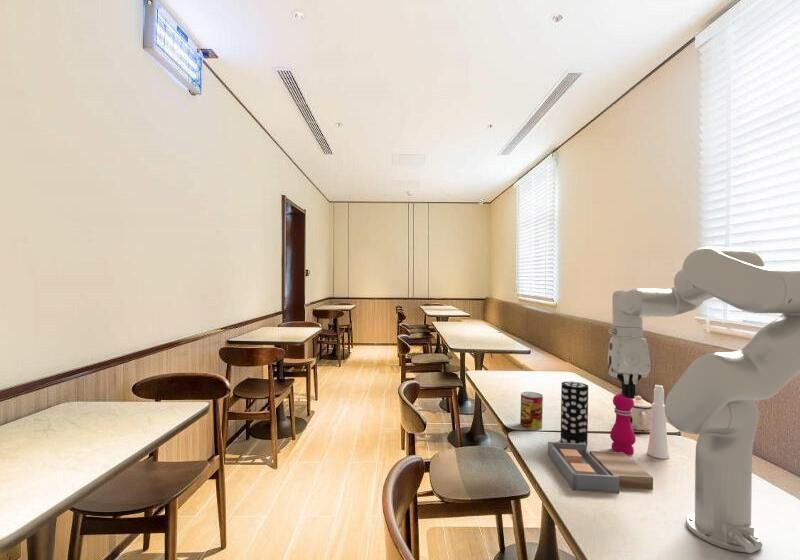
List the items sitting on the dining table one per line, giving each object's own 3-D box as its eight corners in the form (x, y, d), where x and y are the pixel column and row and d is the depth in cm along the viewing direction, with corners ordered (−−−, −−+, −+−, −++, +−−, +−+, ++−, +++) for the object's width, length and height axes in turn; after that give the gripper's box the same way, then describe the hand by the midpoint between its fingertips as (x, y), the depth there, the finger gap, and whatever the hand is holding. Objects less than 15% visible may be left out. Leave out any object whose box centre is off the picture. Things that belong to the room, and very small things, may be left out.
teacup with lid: (621, 421, 160) (622, 392, 160) (647, 424, 157) (648, 394, 157) (630, 432, 148) (630, 400, 148) (658, 435, 146) (658, 403, 146)
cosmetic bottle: (654, 449, 132) (655, 382, 133) (673, 457, 127) (674, 387, 127) (642, 452, 130) (643, 384, 130) (661, 460, 124) (662, 388, 125)
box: (619, 492, 104) (619, 477, 104) (573, 490, 105) (573, 474, 105) (585, 456, 126) (585, 443, 126) (547, 454, 127) (548, 441, 127)
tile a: (576, 470, 109) (575, 480, 109) (595, 472, 108) (595, 481, 108) (570, 462, 114) (569, 471, 114) (588, 463, 113) (588, 472, 113)
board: (653, 488, 106) (653, 477, 106) (613, 486, 107) (614, 475, 107) (623, 462, 122) (623, 452, 122) (589, 460, 123) (589, 450, 123)
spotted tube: (559, 445, 134) (560, 385, 134) (561, 437, 141) (562, 380, 142) (586, 451, 130) (587, 388, 130) (588, 442, 138) (589, 383, 138)
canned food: (516, 423, 155) (516, 392, 155) (533, 422, 157) (534, 391, 157) (528, 430, 147) (529, 397, 148) (546, 428, 150) (547, 396, 150)
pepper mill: (638, 456, 127) (639, 392, 127) (613, 454, 128) (614, 391, 128) (630, 447, 134) (631, 387, 134) (607, 445, 135) (608, 385, 135)
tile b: (564, 455, 119) (564, 464, 119) (582, 456, 118) (581, 464, 118) (559, 448, 124) (559, 456, 124) (576, 449, 123) (575, 457, 123)
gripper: (607, 333, 113) (608, 400, 112) (661, 334, 112) (663, 401, 111) (595, 331, 120) (596, 394, 119) (646, 332, 120) (647, 395, 119)
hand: (628, 397), depth 115 cm, fingers closed
